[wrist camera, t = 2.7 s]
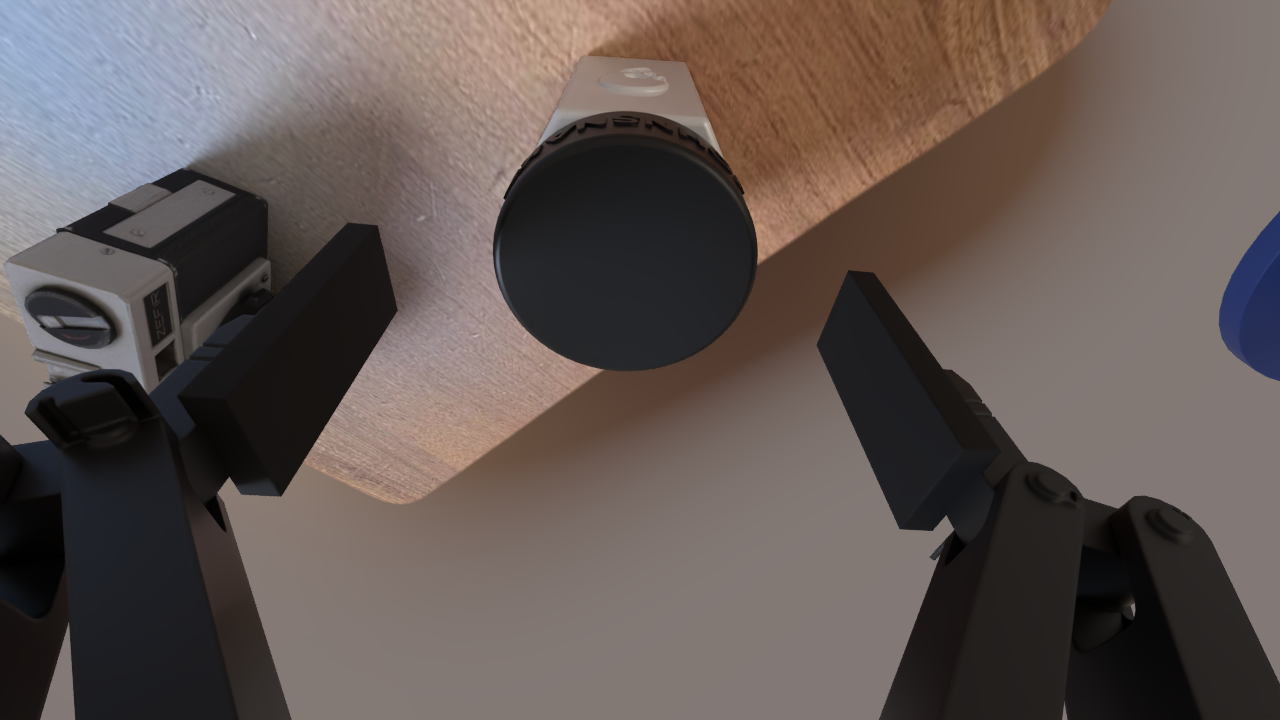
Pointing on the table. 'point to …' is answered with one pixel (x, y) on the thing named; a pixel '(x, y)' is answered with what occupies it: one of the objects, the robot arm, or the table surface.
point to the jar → (626, 222)
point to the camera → (144, 278)
